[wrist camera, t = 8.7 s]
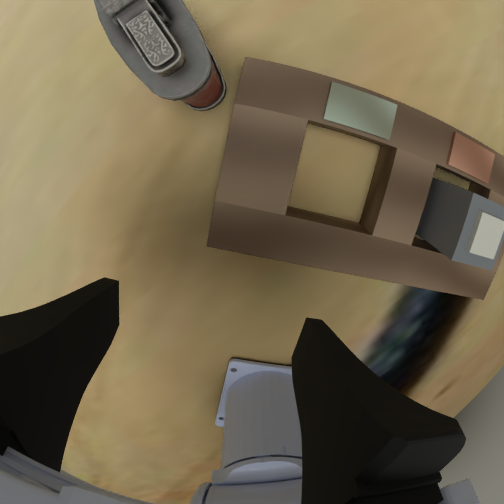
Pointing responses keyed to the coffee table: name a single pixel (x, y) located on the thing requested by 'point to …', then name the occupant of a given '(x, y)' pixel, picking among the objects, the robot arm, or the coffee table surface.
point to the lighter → (164, 49)
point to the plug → (462, 225)
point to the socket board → (380, 193)
